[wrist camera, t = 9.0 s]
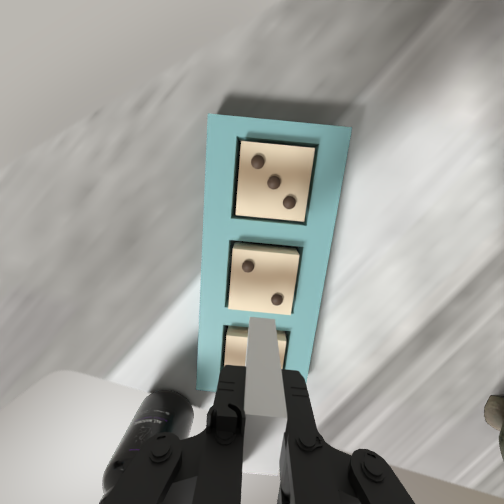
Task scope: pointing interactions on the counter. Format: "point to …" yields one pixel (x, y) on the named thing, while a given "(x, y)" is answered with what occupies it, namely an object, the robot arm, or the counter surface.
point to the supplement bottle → (149, 431)
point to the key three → (273, 180)
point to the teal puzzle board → (266, 235)
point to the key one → (238, 345)
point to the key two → (263, 278)
